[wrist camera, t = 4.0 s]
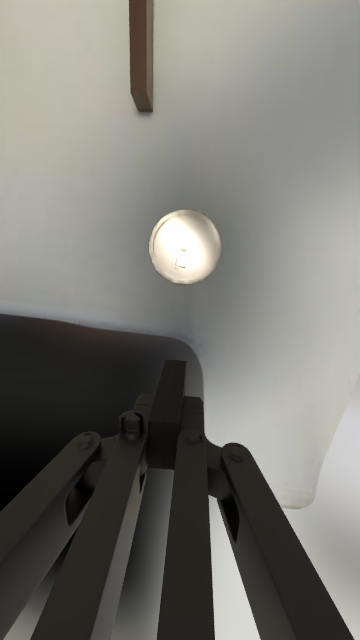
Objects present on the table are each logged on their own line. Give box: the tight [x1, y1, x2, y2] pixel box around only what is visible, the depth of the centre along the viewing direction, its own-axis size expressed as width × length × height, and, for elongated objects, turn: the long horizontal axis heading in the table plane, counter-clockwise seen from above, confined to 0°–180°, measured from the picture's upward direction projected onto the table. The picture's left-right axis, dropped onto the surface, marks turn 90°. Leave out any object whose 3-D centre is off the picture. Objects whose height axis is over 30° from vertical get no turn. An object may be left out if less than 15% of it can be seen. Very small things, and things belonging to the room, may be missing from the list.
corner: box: [129, 0, 153, 111], centre depth 21 cm, size 10×14×3 cm
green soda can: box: [149, 209, 222, 285], centre depth 22 cm, size 5×5×12 cm
